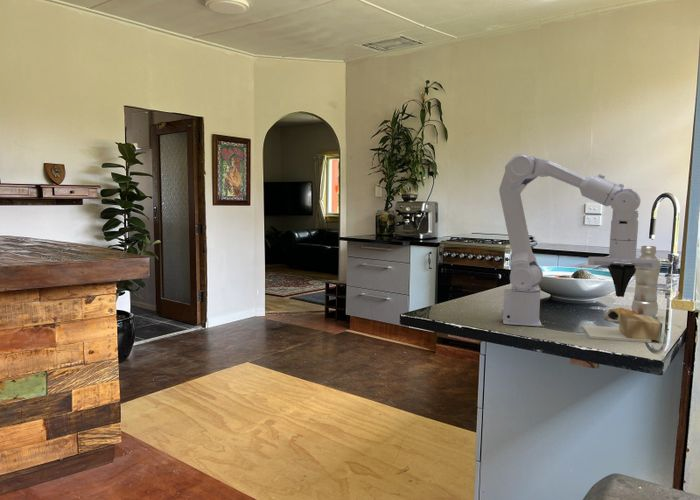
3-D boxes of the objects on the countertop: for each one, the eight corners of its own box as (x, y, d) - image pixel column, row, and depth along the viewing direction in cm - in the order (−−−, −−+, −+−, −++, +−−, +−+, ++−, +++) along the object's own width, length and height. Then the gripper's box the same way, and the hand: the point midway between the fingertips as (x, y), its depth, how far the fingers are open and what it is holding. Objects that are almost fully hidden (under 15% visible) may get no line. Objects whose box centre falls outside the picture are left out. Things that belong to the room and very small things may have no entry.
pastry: (628, 317, 146) (629, 304, 145) (649, 323, 139) (650, 309, 139) (602, 319, 143) (602, 306, 142) (621, 326, 136) (622, 311, 136)
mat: (590, 338, 122) (590, 335, 122) (582, 327, 133) (582, 325, 133) (651, 342, 119) (651, 340, 119) (638, 331, 129) (638, 328, 129)
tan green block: (628, 320, 120) (662, 323, 119) (620, 312, 128) (652, 316, 126) (627, 336, 121) (660, 340, 119) (618, 328, 128) (650, 332, 127)
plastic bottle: (653, 315, 148) (658, 245, 146) (660, 320, 141) (665, 247, 139) (628, 313, 149) (632, 245, 147) (634, 319, 143) (639, 247, 141)
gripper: (593, 240, 121) (590, 297, 122) (662, 242, 117) (658, 301, 119) (587, 238, 128) (584, 292, 129) (653, 239, 124) (649, 295, 125)
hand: (619, 296), depth 124 cm, fingers closed
